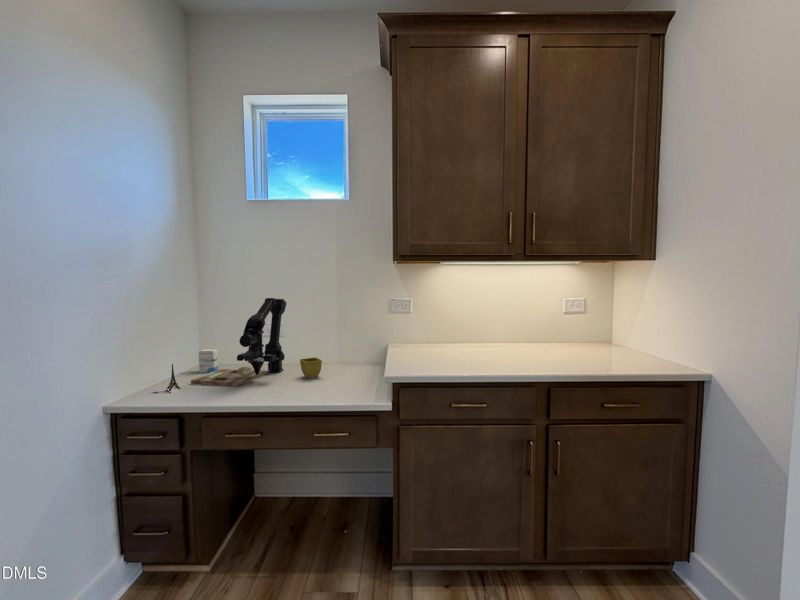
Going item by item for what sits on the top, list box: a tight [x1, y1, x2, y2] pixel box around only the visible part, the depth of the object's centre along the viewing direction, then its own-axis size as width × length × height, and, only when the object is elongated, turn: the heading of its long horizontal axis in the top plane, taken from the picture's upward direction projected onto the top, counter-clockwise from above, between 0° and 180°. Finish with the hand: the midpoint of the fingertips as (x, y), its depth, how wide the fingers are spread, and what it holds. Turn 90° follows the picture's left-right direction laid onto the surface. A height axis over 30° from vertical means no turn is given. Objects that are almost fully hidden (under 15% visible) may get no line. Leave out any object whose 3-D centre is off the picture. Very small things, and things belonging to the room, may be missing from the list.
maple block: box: [236, 366, 253, 377], centre depth 206 cm, size 5×5×4 cm
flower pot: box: [299, 356, 323, 379], centre depth 211 cm, size 9×9×9 cm
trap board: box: [190, 368, 266, 387], centre depth 208 cm, size 26×23×2 cm
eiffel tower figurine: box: [166, 363, 181, 391], centre depth 190 cm, size 15×10×13 cm
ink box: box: [198, 349, 219, 373], centre depth 225 cm, size 8×5×12 cm, turn 84°
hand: (257, 374), depth 205 cm, fingers closed
